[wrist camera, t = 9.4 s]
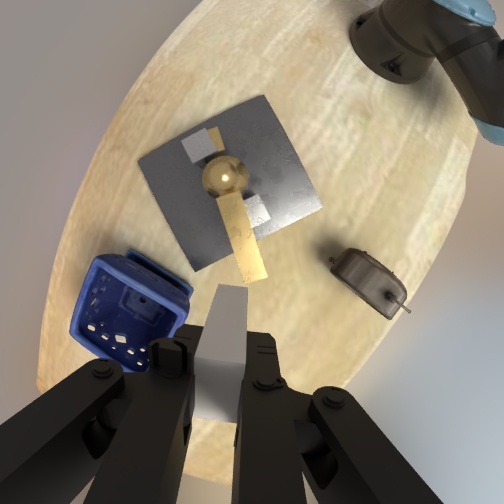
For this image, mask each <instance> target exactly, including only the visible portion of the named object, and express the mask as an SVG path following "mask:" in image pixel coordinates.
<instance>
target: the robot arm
mask: <svg viewBox="0 0 504 504" xmlns="http://www.w3.org/2000/svg"><path fill="white" fill-rule="evenodd" d="M495 21H496V15H495V12H494V11H493V10H492V8H491V5H490V4H489V2H488V1H487V0H384V1H383V2H382V4H381V5H380V6H378V7H376V8H373V9H371V10H369V11H367V12H365V13H363V14H361V15H360V16H358V17H357V19H356V20H355V21H354V23H353V24H352V26H351V29H350V39H351V43H352V45H353V48H354V50H355V51H356V53H357V54H358V56H359V57H360V58H361V60H362V61H363V62H364V63H365V64H366V65H367V66H368V67H369V68H370V69H371V70H373V71H374V72H375V73H377V74H378V75H380V76H381V77H383V78H385V79H387V80H389V81H392V82H395V83H399V84H410V83H413V82H415V81H417V80H419V79H420V78H422V77H423V76H424V75H425V74H426V73H427V71H428V69H429V67H430V66H431V64H432V62H433V60H434V58H435V57H436V58H437V59H438V61H439V62H440V63H441V65H442V67H443V68H444V70H445V71H446V73H447V74H448V76H449V77H450V79H451V81H452V82H453V84H454V86H455V87H456V89H457V91H458V92H459V94H460V96H461V98H462V100H463V101H464V103H465V105H466V107H467V109H468V113H469V115H470V116H471V118H472V119H473V120H474V122H475V124H476V126H477V127H478V129H479V131H480V133H481V135H482V136H483V137H484V138H485V139H486V140H488V141H489V142H491V143H493V144H496V145H501V146H504V39H503V40H502V39H501V38H500V36H499V35H498V34H497V32H496V31H495V29H494V28H493V25H494V24H495ZM247 303H248V288H247V287H239V286H230V285H222V284H218V287H217V290H216V293H215V296H214V299H213V302H212V305H211V308H210V311H209V314H208V317H207V320H206V323H205V326H204V327H203V326H196V325H189V324H183V325H182V326H180V327H179V328H177V329H176V331H175V333H174V335H173V337H172V338H169V337H165V338H158V339H156V340H153V341H151V342H150V343H149V344H148V357H149V369H148V371H145V372H123V368H122V366H121V364H119V363H118V362H116V361H115V360H112V359H108V358H98V359H93V360H91V361H89V362H87V363H86V364H84V365H83V366H82V367H80V368H79V369H77V370H76V371H75V372H73V373H72V374H70V375H69V376H68V377H66V378H65V379H64V380H62V381H61V382H59V383H58V384H57V385H55V386H54V387H52V388H51V389H50V390H48V391H47V392H45V393H44V394H43V395H41V396H40V397H39V398H37V399H36V400H34V401H33V402H32V403H30V404H29V405H27V406H26V407H25V408H23V409H22V410H21V411H19V412H18V413H16V414H15V415H14V416H12V417H11V418H10V419H8V420H7V421H5V422H4V423H3V424H1V425H0V504H70V503H71V502H72V500H74V498H75V497H76V496H77V495H78V494H79V493H80V492H81V491H82V490H83V489H84V487H85V486H86V485H87V484H88V483H89V482H90V481H91V480H92V479H93V477H94V476H95V478H94V480H93V482H92V485H91V487H90V489H89V491H88V493H87V496H86V498H85V500H84V502H83V504H176V500H177V496H178V491H179V486H180V481H181V476H182V472H183V467H184V462H185V458H186V453H187V448H188V444H189V439H190V435H191V430H192V416H193V412H194V418H200V419H206V420H214V421H222V422H231V423H237V427H236V433H235V440H234V447H235V449H234V465H233V482H232V500H231V504H307V501H306V494H305V488H304V481H303V476H302V472H303V474H304V476H305V478H306V480H307V482H308V484H309V486H310V488H311V490H312V492H313V494H314V496H315V497H316V499H317V501H318V503H319V504H444V503H443V502H441V500H440V499H439V498H438V497H437V496H436V494H435V493H434V492H433V491H432V490H431V489H430V487H429V486H428V485H427V484H426V483H425V482H424V481H423V479H422V478H421V477H420V476H419V475H418V473H417V472H416V471H415V470H414V469H413V468H412V466H411V465H410V464H409V463H408V462H407V461H406V459H405V458H404V457H403V456H402V455H401V454H400V452H399V451H398V450H397V449H396V447H395V446H394V445H393V444H392V443H391V442H390V440H389V439H388V438H387V437H386V436H385V435H384V433H383V432H382V431H381V430H380V428H379V427H378V426H377V425H376V424H375V422H374V421H373V420H372V419H371V418H370V417H369V415H368V414H367V413H366V412H365V410H364V409H363V408H362V407H361V406H360V404H359V403H358V402H357V401H356V400H355V398H354V397H353V396H352V395H351V394H350V393H349V392H347V391H346V390H344V389H342V388H339V387H334V386H324V387H321V388H318V389H317V390H316V391H315V392H314V393H313V395H309V394H305V393H301V392H298V391H295V390H293V389H291V388H289V387H288V386H287V383H286V381H285V379H284V378H282V377H281V374H280V367H279V361H278V355H277V349H276V342H275V339H274V338H273V337H272V336H271V335H270V334H269V333H260V332H250V331H247Z"/></svg>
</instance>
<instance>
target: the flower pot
mask: <svg viewBox="0 0 504 504" xmlns="http://www.w3.org/2000/svg"><path fill="white" fill-rule="evenodd" d="M101 288H102V290H100V289H101ZM93 289H94V290H93ZM92 290H93V292H92ZM193 291H194V289H193V287H191V286H190V285H188V284H187V283H185V282H184V281H182V280H181V279H179V278H177V277H176V276H174V275H173V274H171V273H169V272H168V271H166V270H165V269H163V268H162V267H160V266H158V265H157V264H155V263H154V262H152V261H151V260H149V259H148V258H146V257H144V256H143V255H141V254H140V253H138V252H137V251H135V250H133V249H129V250H128V251H127V253H126V255H125V257H124V256H121V255H118V254H104V255H99V256H97V257H95V258H94V260H93V262H92V264H91V266H90V268H89V270H88V273H87V275H86V278H85V280H84V283H83V286H82V289H81V291H80V294H79V297H78V299H77V302H76V305H75V309H74V312H73V316H72V319H71V324H70V330H69V333H70V335H71V336H72V337H73V338H74V339H75V340H76V341H77V342H79V343H80V344H81V345H83V346H84V347H85V348H87V349H88V350H89V351H91V352H92V353H94V354H95V355H96V356H98V357H99V358H108V359H112V360H115V361H116V362H118V363H119V364H121V366H122V368H123V372H145V371H148V369H149V361H148V360H149V357H148V344H149V343H150V342H151V341H153V340H156V339H158V338H165V337H169V338H172V337H173V335H174V333H175V331H176V329H177V328H179V327H180V326H182V325H183V324H184V323H185V321H186V318H187V316H188V313H189V309H190V303H189V299H190V297H191V295H192V293H193ZM95 298H96V301H95V302H94V303H93V304H92V305H91V303H92V302H93V300H94V299H95ZM101 324H102V325H103V326H101ZM88 325H91V326H94V327H95V331H92V330H90V329H88ZM102 335H104V336H106V337H107V338H108V340H105V339H104V338H102V337H101V336H102ZM115 335H119V336H124V337H125V338H126V343H121V342H117V341H116V338H115ZM112 347H115V349H113V348H112ZM142 348H143V349H144V350H145V351H144V352H142V351H141V350H140V349H142ZM128 350H131V351H132V352H134V354H130V353H128V352H127V351H128ZM137 362H140V363H141V364H142V365H138V364H137Z"/></svg>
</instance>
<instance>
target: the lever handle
mask: <svg viewBox="0 0 504 504" xmlns="http://www.w3.org/2000/svg"><path fill="white" fill-rule="evenodd" d="M207 132H208V134H209V136H210V137H211V139H212V141H213V143H214V145H215V147H216V149H217V151H218V152H216V153H214V154H217V153H220V152H223V151H225V148H224V145H223V142H222V138H221V135H220V132H219V129H218V127H215V128H212V129H209V130H207ZM214 154H212V155H214ZM210 156H211V155H210ZM247 182H248V173H247V170H246V168H245V166H244V165H243V163H242V162H241V161H239V160H238V159H236V158H234V157H231V156H220V157H217V158H214V159H213V160H211V161H210V162H209V163H208V164H207V165H206V167H205V169H204V171H203V175H202V183H203V186H204V189H205V190H206V192H207V193H208V194H209V195H210V196H211V197H213V198H214V199H216V200H217V203H218V206H219V209H220V212H221V215H222V218H223V221H224V224H225V227H226V230H227V233H228V236H229V239H230V242H231V245H232V248H233V251H234V254H235V257H236V260H237V263H238V266H239V269H240V271H241V274H242V277H243V280H244V283H245V284H247V283H250V282H253V281H256V280H260V279H263V278H266V277H267V273H266V269H265V266H264V263H263V260H262V257H261V253H260V250H259V247H258V244H257V241H256V238H255V235H254V232H253V229H252V226H251V222H250V219H249V216H248V213H247V210H246V207H245V204H244V201H243V198H242V195H241V194H242V193H243V192H244V190H245V189H246V186H247Z"/></svg>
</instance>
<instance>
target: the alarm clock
mask: <svg viewBox="0 0 504 504" xmlns="http://www.w3.org/2000/svg"><path fill="white" fill-rule="evenodd" d="M329 261H332V262H333V264H334V265H333V266H332V268H331V269H330V272H331V273H332V275H334V276H335V277H336V278H337V279H338V280H340V281H341V282H342V283H343V284H344V285H345V286H347V287H348V288H349V289H350V290H352V291H353V292H354V293H355V294H357V295H358V296H359V297H360V298H361V299H363V300H364V301H365V302H366V303H367V304H369V305H370V306H371V307H372V308H374V309H375V310H376V311H378V312H379V313H380V314H381V315H383V316H384V317H385V318H387V319H388V320H392V318H393V316H394V315H395V314H396V313H397V311H398V310H399V309H400V307H402V308H403V309H405V310H406V311H407V312H408V313H411V311H410V310H409V309H407V308H406V307H405V306H404V305H403V303H404V302H405V300H406V299H407V291H406V288H405V287H404V285H403V284H402V282H401V281H400V280H399V279H398V278H397V277H396V276H395V275H394V274H393V273H394V272H391V271H390V270H389V269H387V268H386V267H385V266H384V265H382V264H381V263H380V262H378V261H377V260H376V259H374V258H373V257H371V256H370V255H368V254H367V252H366V251H364V252H363V251H361V250H359V249H355V248H348V249H346V250H345V251H344V252H343V253H342V255H341V256H340V257H339V259H338V260H337V261H336V260H334V259H333V257H330V259H329Z"/></svg>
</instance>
